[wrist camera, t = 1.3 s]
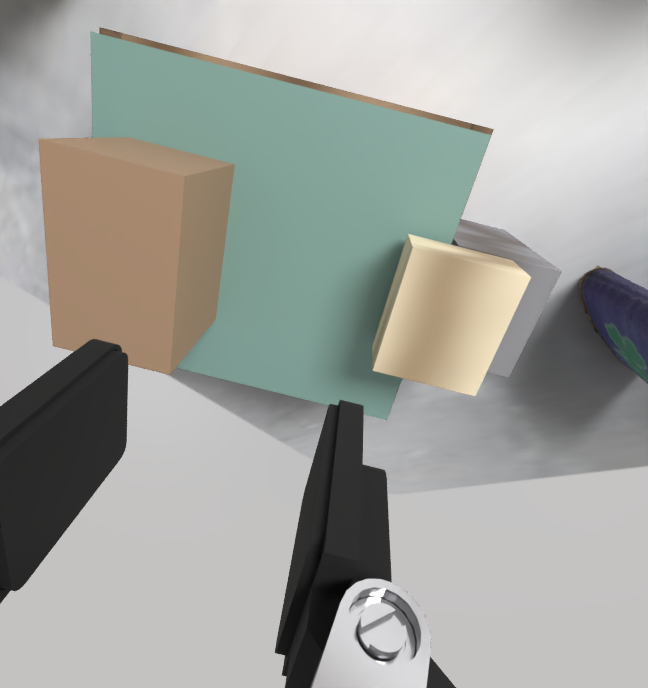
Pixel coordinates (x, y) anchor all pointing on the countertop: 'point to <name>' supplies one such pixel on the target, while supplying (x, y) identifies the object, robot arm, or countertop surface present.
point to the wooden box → (466, 232)
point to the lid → (241, 222)
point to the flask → (618, 315)
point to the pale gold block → (446, 314)
